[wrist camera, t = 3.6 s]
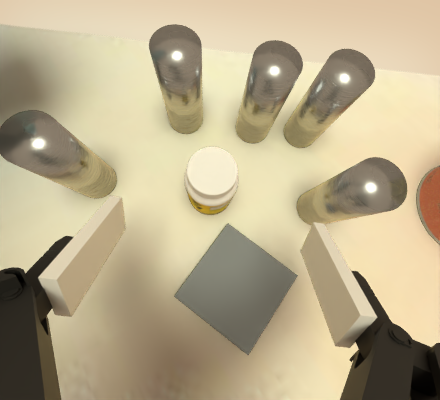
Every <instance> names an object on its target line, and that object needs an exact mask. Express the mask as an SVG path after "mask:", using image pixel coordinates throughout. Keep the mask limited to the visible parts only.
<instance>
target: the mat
mask: <svg viewBox="0 0 440 400" xmlns="http://www.w3.org/2000/svg"><path fill="white" fill-rule="evenodd" d="M297 276H298V275H296V274H295V273H293V272H292V271H291V270H289V269H288V268H287V267H285V266H284V265H283V264H281V263H280V262H279V261H277V260H276V259H275V258H273V257H272V256H271V255H269V254H268V253H267V252H265V251H264V250H263V249H261V248H260V247H259V246H257V245H256V244H255V243H253V242H252V241H251V240H249V239H248V238H247V237H245V236H244V235H243V234H241V233H240V232H239V231H237V230H236V229H235V228H233V227H232V226H231V225H229V224H227V225H226V226H225V228H224V229H223V231H222V232H221V233H220V235H219V236H218V237H217V239H216V240H215V241H214V243H213V244H212V245H211V247H210V248H209V250H208V251H207V252H206V254H205V255H204V256H203V258H202V259H201V260H200V262H199V263H198V265H197V266H196V267H195V269H194V270H193V271H192V273H191V274H190V275H189V277H188V278H187V279H186V281H185V282H184V284H183V285H182V286H181V288H180V289H179V290H178V292H177V293H176V294H175V296H174V297H176V298H177V299H178V300H179V301H181V302H182V303H183V304H184V305H186V306H187V307H188V308H189V309H191V310H192V311H193V312H194V313H196V314H197V315H198V316H199V317H201V318H202V319H203V320H204V321H206V322H207V323H208V324H209V325H211V326H212V327H213V328H214V329H216V330H217V331H218V332H220V333H221V334H222V335H223V336H225V337H226V338H227V339H228V340H230V341H231V342H232V343H233V344H235V345H236V346H237V347H238V348H240V349H241V350H242V351H243V352H245V353H246V354H247V355H249V353H250V352H251V350H252V349H253V347H254V345H255V344H256V342H257V341H258V339H259V337H260V336H261V334H262V332H263V331H264V329H265V328H266V326H267V324H268V323H269V321H270V319H271V318H272V316H273V315H274V313H275V311H276V310H277V308H278V307H279V305H280V303H281V302H282V300H283V298H284V297H285V295H286V294H287V292H288V290H289V289H290V287H291V286H292V284H293V282H294V281H295V279H296V277H297Z"/></svg>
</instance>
